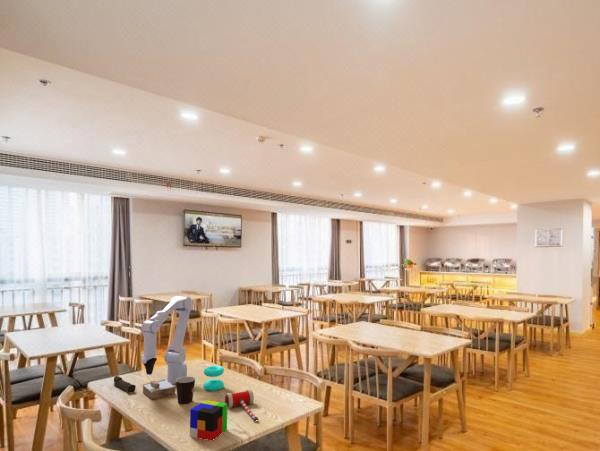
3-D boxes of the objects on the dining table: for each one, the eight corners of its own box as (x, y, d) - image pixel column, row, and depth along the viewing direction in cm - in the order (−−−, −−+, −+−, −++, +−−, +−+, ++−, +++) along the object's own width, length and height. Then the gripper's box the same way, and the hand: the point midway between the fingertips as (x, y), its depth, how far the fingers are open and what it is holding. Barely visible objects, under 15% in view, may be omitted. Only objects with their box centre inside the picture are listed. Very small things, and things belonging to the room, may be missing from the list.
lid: (165, 381, 202) (165, 376, 202) (174, 387, 193) (175, 382, 194) (143, 386, 195) (143, 380, 195) (152, 393, 186) (152, 387, 186)
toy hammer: (269, 419, 167) (269, 404, 167) (242, 425, 161) (243, 409, 161) (248, 401, 186) (248, 387, 187) (224, 406, 181) (224, 391, 181)
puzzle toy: (189, 436, 151) (190, 409, 152) (205, 425, 160) (205, 399, 161) (212, 441, 147) (213, 413, 148) (226, 429, 157) (227, 403, 157)
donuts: (222, 371, 198) (201, 371, 197) (222, 391, 197) (201, 391, 197) (225, 364, 208) (206, 365, 207) (225, 384, 207) (205, 384, 207)
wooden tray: (164, 387, 203) (164, 379, 203) (175, 394, 193) (175, 386, 193) (142, 392, 195) (142, 384, 196) (152, 400, 186) (152, 391, 186)
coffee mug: (184, 396, 190) (184, 375, 191) (198, 400, 186) (199, 378, 187) (166, 405, 180) (166, 382, 180) (181, 409, 176) (181, 385, 176)
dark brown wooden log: (135, 392, 196) (136, 382, 197) (127, 394, 193) (128, 384, 194) (119, 383, 209) (120, 374, 210) (111, 385, 206) (112, 375, 207)
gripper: (147, 341, 202) (147, 369, 202) (135, 349, 188) (134, 379, 187) (161, 342, 202) (161, 369, 201) (150, 349, 187) (149, 379, 187)
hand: (149, 374), depth 194 cm, fingers closed
